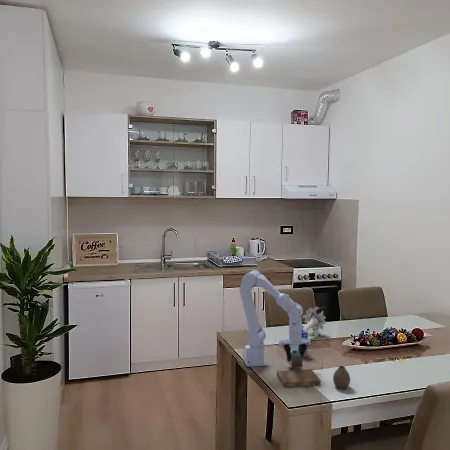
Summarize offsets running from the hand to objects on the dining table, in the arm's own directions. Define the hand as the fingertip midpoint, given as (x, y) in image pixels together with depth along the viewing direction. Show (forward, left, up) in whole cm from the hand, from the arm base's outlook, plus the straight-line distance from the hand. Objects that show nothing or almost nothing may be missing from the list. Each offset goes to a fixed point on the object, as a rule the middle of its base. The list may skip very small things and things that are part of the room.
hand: (294, 360), depth 205 cm
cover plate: (0, 0, +2) cm, 2 cm away
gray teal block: (0, 0, -2) cm, 2 cm away
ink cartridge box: (+8, +19, -4) cm, 21 cm away
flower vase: (+21, +42, -4) cm, 47 cm away
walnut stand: (-2, -12, -4) cm, 13 cm away
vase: (+14, -21, -4) cm, 26 cm away
